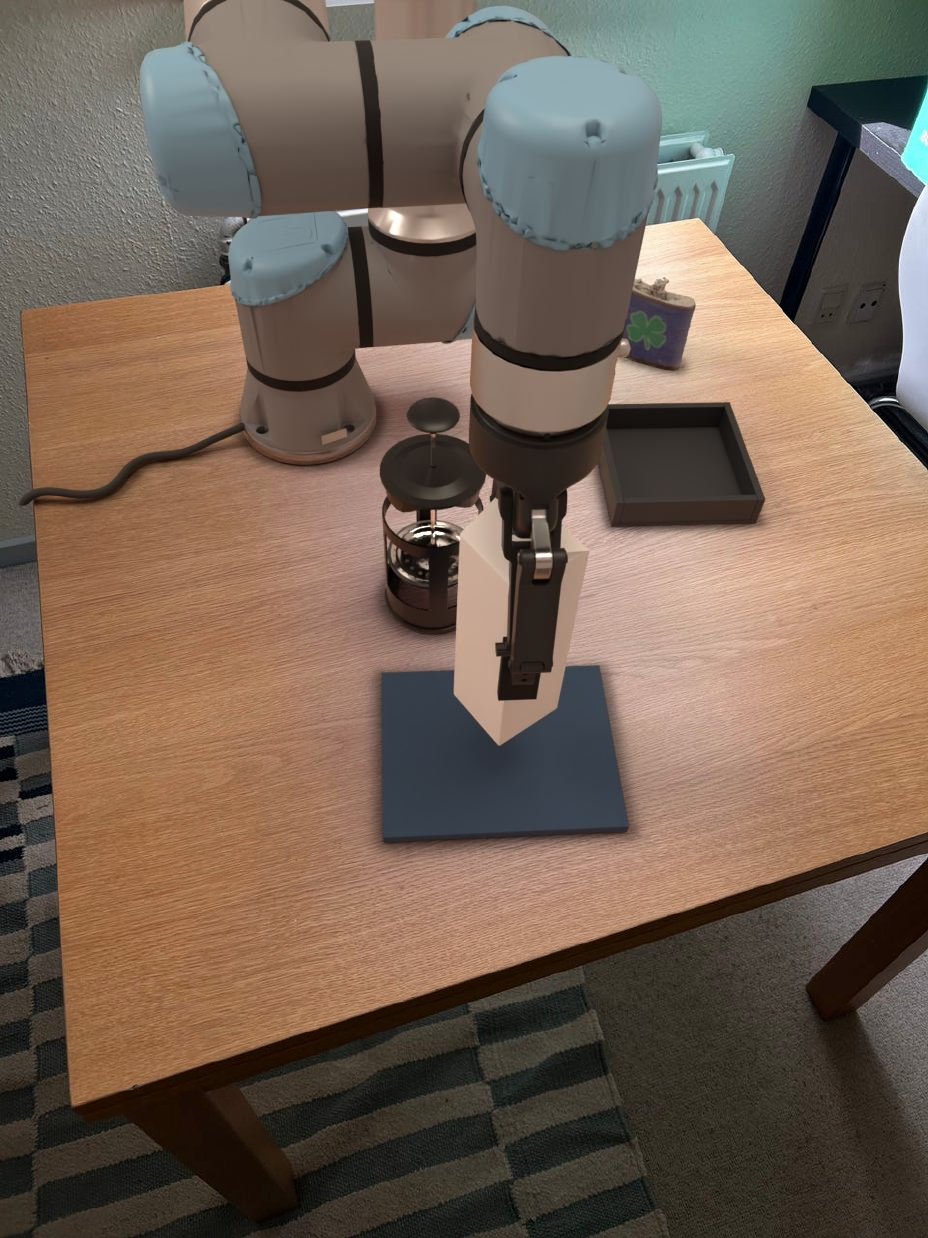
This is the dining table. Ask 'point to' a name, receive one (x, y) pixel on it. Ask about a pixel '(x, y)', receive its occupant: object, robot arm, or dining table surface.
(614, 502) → the tray
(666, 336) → the flask
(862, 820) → the dining table surface
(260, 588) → the dining table surface
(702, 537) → the dining table surface
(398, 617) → the french press
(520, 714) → the milk
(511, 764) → the mat
